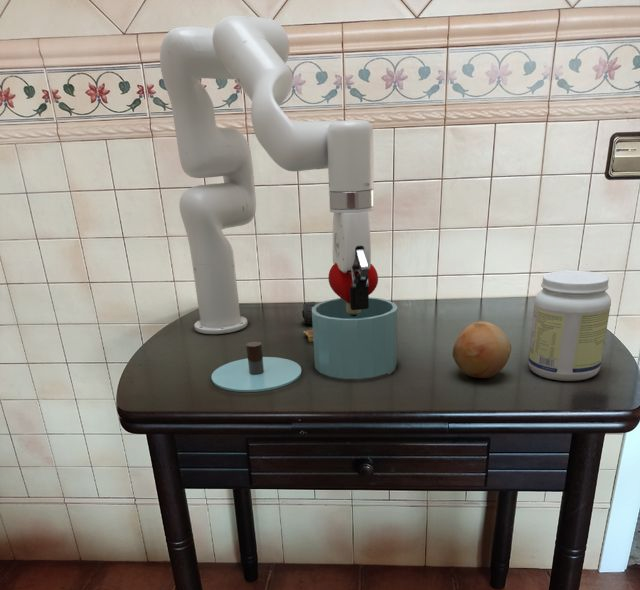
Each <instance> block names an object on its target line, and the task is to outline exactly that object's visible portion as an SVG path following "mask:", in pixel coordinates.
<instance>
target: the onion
mask: <svg viewBox="0 0 640 590" xmlns="http://www.w3.org/2000/svg"><path fill="white" fill-rule="evenodd" d="M511 353H512V344H511V341H510V340H509V338H508V336H507V335H506V333H505V332H504V331H503V330H502V329H501V328H500V327H499V326H497V325H495V324H494V323H491V322H488V321H484V320H478V321H475V322H472V323H471V324H469V325H467V326H466V327H465V328H464V329H463V330H462V331H461V332H460V333H459V335H458V336H457V337H456V339H455V342H454V345H453V347H452V358H453V360H454V362H455V364H456V366H457V367H458V369H459V370H460V371H461V372H462V373H463V374H465V375H466V376H468V377H472V378H476V379H477V378H478V379H490V378H492V377H494V376H495V375H498V373H499V372H501V371H502V370H503V369H504V368H505V366H506V365H507V363H508V361H509V359H510V357H511Z"/></svg>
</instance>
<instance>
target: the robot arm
mask: <svg viewBox="0 0 640 590" xmlns="http://www.w3.org/2000/svg"><path fill="white" fill-rule="evenodd" d="M289 57H290V41H289V37H288V34H287V32H286V30H285V29H284V27H283V26H282V25H281V24H280V23H279V22H278V21H277V20H275V19H272V18H269V17H261V16H251V15H243V14H233V15H232V14H231V15H228V16H225V17H224V18H222V19H221V20H220V21H219V22H218V23H217V24H216V25H215V27H208V26H198V25H197V26H195V25H187V26H186V25H185V26H178V27H176V28H175V27H174V28H172V29H171V30H169V31H168V32H167V33H166V34H165V36H164V37H163V40H162V42H161V46H160V51H159V66H160V71H161V72H160V73H161V76H162V80H163V84H164V87H165V90H166V92H167V95H168V98H169V102H170V106H171V109H172V116H173V117H172V118H173V124H174V131H175V137H176V144H177V151H178V157H179V161H180V165H181V169H182V171H183V172H184V173H185V174H186V176H188V177H190V178H194V179H207V178H208V179H209V178H217V177H218V178H219V177H222V179H223V182H221V183H208V184H199V185H195V186H192V187H190V188H188V189H186V190H184V192H183V193H182V195H181V196H180V198H179V206H178V207H179V213H180V216H181V219H182V220H181V221H182V222H183V226H184V229H185V233H186V237H187V240H188V246H189V251H190V258H191V265H192V273H193V279H194V286H195V293H196V300H197V307H198V314H199V320H197V321H195V323H194V325H193V326H194V327H193V328H194V331H196V332H198V333H200V334H204V335H223V334H231V333H235V332H238V331H241V330H243V329H244V328H246V327H247V326H248V324H249V323H248V319H247V318H246V317H245V316H243V315H242V316H241V311H240V300H239V292H238V284H237V273H236V264H235V263H236V262H235V256H234V249H233V247H232V244H231V242H230V241H229V239H228V237H226V235H225V234H224V232H223V230H226V229H229V228H235V227H242V226H246V225H247V224H249V223H251V222H252V221H253V219H254V218H255V214H256V209H257V198H256V197H257V196H256V187H255V178H254V177H255V176H254V175H255V174H254V165H253V157H252V151H251V148H250V144H249V142H248V140H247V138H246V136H245V135H244V134H243V133H242V132H241V131H240V130H238V129H236V128H234V127H233V128H232V127H218V126H217V121H216V113H215V105H214V102H213V100H212V98H211V96H210V93H208V90H207V89H206V88H205V87H204V85H203V84H202V83H201V81H200V80H201V79H209V80H210V79H212V80H235V81H236V83H237V84H238V85H239V87H240V88H241V89H242V91H243V92H244V93H245V94H246V96H247V97H248V99H250V101H251V104H250V105H251V106H250V117H251V123H252V128H253V132H254V134H255V137H256V140H257V141H258V143H259V144H260V145H261V147H262V148H263V149H264V150H265V152H266V153H267V154H268V156H269V157H270V159H271V160H272V161H273V162H274V163H275V164H276V165H277V166H279V168H281V169H283V170H285V171H288V172H304V171H312V170H325V169H327V172H328V175H327V176H328V199H329V201H328V202H329V212H330V213H333V216H332V264H333V265H334V264H335V263H337V265H338V268H339V269H340V270H341V271H342V272H343V273H347V271H348V270H349V271H350V277H351V284H352V287H350V308H351V309H352V310H361V309H368V307H369V297H370V295H369V287H368V286H369V283H368V275H367V274H368V270H369V269H370V264H372V262H371V261H372V247H371V246H372V245H371V243H372V241H371V223H370V212H372V211H374V209H375V207H374V205H375V204H374V197H375V196H374V195H375V194H374V191H375V190H374V128H373V125H372V123H371V122H370V121H368V120H365V119H347V120H337V121H335V120H305V121H304V120H303V121H302V120H300V121H292V119H291V118H289V117H288V115H287V114H286V113H285V112H284V111H283V109H282V108H281V107H280V106H281V105H282V104H283V103H284V102H285V100H286V99H287V98H288V96H289V95H290V93H291V91H292V88H293V82H294V78H293V73H292V71H291V69H290V67H289V66H288V65H287V64H286V63H287V61H288V59H289ZM354 267H359V268H358V269H353V268H354ZM355 274H357V276H356V280H355ZM341 299H342V298H341Z"/></svg>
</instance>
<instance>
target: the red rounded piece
mask: <svg viewBox="0 0 640 590" xmlns="http://www.w3.org/2000/svg"><path fill="white" fill-rule="evenodd" d="M358 268H359V267H354V268H353V269H358ZM367 275H368V283H369V286H368V287H369V296H370V295H371V294H372V293H373V292H374V291H375V290H376V289H377V287H378V284H379V275H378V272H377V270H376V267H375V266H374V265H373V264H372V263H371V264H370V269H369V270H368V274H367ZM356 276H357V274H355V280H356ZM328 284H329V286H330V288H331V290H332V291H333V293H335V295H337V296H338V297H339V298H342V299H343V300H345V301H346V306H347V307H346V308H347V309H346V310H347V311H346V312H347V313H349V314H350V315H351V316H357V314H359V313H360V312H361V310H352V309H351V308H350V287H352V284H351V277H350V271H349V270H348V271H347V273H343V272H342V271H341V270H340V269H339V268H338V265H337V263H335V264H334V263H333V265H332V266H331V267H330V269H329V272H328Z"/></svg>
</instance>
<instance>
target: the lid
mask: <svg viewBox="0 0 640 590" xmlns="http://www.w3.org/2000/svg"><path fill="white" fill-rule="evenodd" d="M245 344H246V345H245V348H246V358H242V359H238V360H234V361H231V362H228V363H226V364H223V365H221V366H219V367H218V368H216V369H214V371H213V372H212V374H211V382H212V384H213V385H214V386H215V387H217V388H219V389H222V390H225V391H229V392H235V393H260V392H267V391H271V390H272V391H273V390H277V389H281V388H284V387H286V386H288V385H291V384H293V383H295V382H296V381H297V380H299V378H301V375H302V372H303V370H302V367H301V365H300V364H299V363H298V362H296V361H293V360H291V359H287V358H283V357H276V356H263V347H262V345H263V344H262V342H261V341H250V342H247V343H245Z"/></svg>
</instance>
